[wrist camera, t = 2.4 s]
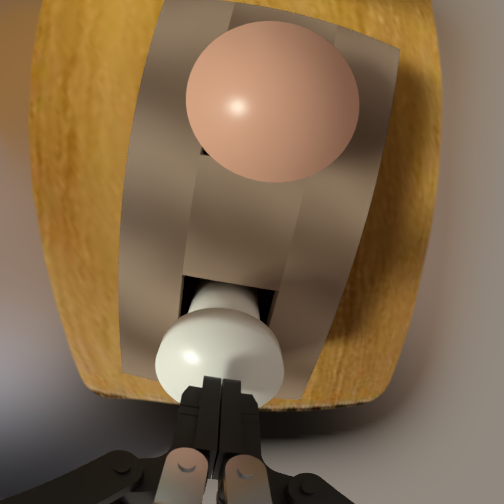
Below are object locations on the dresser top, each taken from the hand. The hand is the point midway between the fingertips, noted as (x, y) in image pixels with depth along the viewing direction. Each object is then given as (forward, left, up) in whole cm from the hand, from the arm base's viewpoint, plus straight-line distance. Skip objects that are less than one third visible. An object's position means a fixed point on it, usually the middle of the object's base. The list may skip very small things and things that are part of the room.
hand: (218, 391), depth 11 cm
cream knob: (0, 0, -8) cm, 8 cm away
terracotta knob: (-11, 0, -8) cm, 14 cm away
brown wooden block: (-6, 0, -11) cm, 12 cm away
